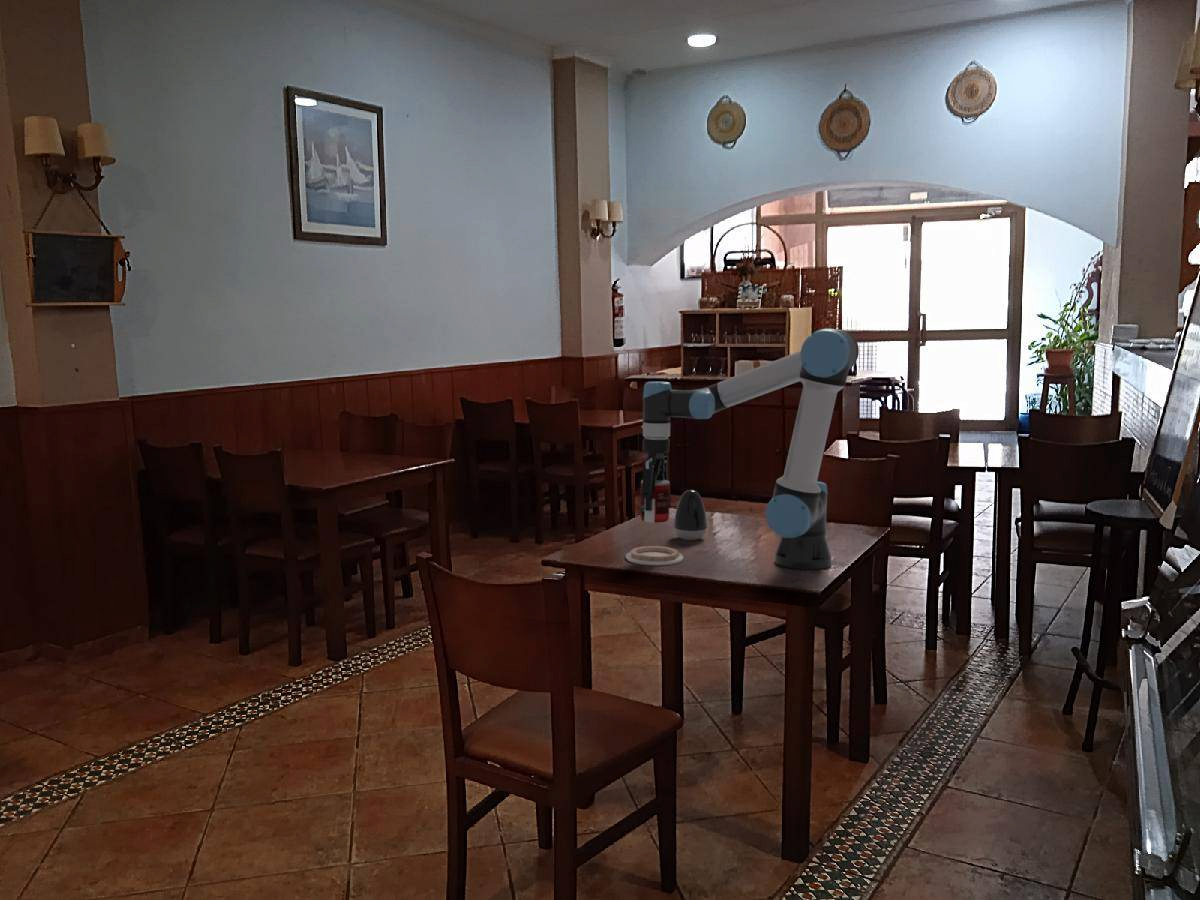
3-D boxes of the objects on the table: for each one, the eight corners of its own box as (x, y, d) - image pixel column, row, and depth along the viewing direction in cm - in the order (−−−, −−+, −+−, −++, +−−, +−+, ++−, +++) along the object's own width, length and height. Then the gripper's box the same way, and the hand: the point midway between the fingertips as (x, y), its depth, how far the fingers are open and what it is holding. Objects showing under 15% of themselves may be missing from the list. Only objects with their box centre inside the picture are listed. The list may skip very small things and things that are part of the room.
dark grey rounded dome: (706, 535, 298) (707, 487, 296) (707, 542, 288) (708, 492, 286) (673, 534, 299) (674, 486, 297) (673, 541, 289) (673, 492, 287)
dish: (690, 555, 272) (690, 548, 271) (672, 568, 257) (672, 560, 257) (638, 549, 278) (638, 543, 278) (617, 562, 263) (617, 554, 263)
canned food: (642, 516, 270) (642, 478, 269) (670, 517, 269) (671, 479, 268) (638, 522, 263) (639, 482, 262) (667, 523, 262) (668, 483, 260)
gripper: (656, 433, 274) (654, 511, 277) (629, 440, 255) (628, 524, 258) (681, 434, 271) (679, 514, 274) (656, 442, 252) (654, 527, 255)
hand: (654, 519), depth 266 cm, fingers closed on canned food, 8 cm apart
